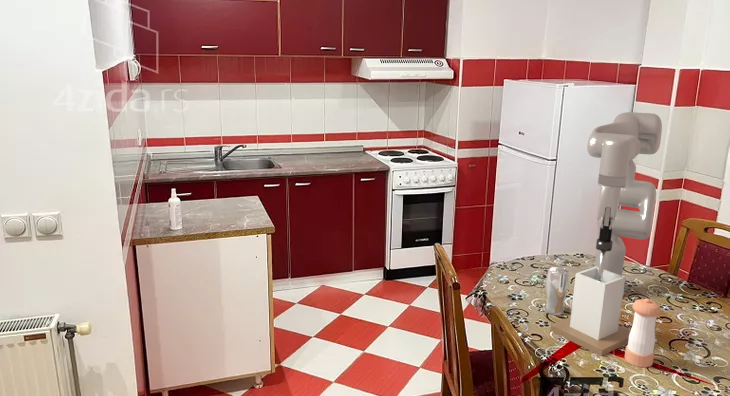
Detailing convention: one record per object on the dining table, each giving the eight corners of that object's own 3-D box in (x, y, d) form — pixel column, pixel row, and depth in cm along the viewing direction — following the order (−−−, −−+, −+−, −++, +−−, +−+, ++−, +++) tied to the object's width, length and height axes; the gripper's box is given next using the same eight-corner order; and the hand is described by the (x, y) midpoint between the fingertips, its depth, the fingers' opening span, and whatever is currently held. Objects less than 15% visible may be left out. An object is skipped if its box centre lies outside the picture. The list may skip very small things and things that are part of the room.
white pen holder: (585, 316, 185) (592, 260, 179) (636, 339, 170) (645, 278, 165) (550, 330, 175) (556, 271, 170) (601, 356, 161) (609, 292, 155)
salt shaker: (619, 354, 162) (628, 294, 157) (643, 353, 162) (652, 293, 157) (633, 368, 155) (642, 305, 150) (658, 366, 155) (668, 304, 150)
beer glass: (566, 317, 184) (571, 275, 180) (544, 314, 185) (548, 273, 181) (563, 307, 190) (567, 267, 187) (542, 305, 192) (546, 265, 188)
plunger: (593, 294, 175) (601, 234, 170) (615, 303, 169) (624, 242, 163) (578, 300, 171) (585, 239, 165) (600, 310, 165) (608, 246, 159)
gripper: (600, 174, 168) (593, 232, 172) (596, 184, 155) (588, 246, 159) (627, 177, 164) (619, 235, 169) (625, 187, 151) (617, 250, 156)
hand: (604, 240), depth 164 cm, fingers closed
